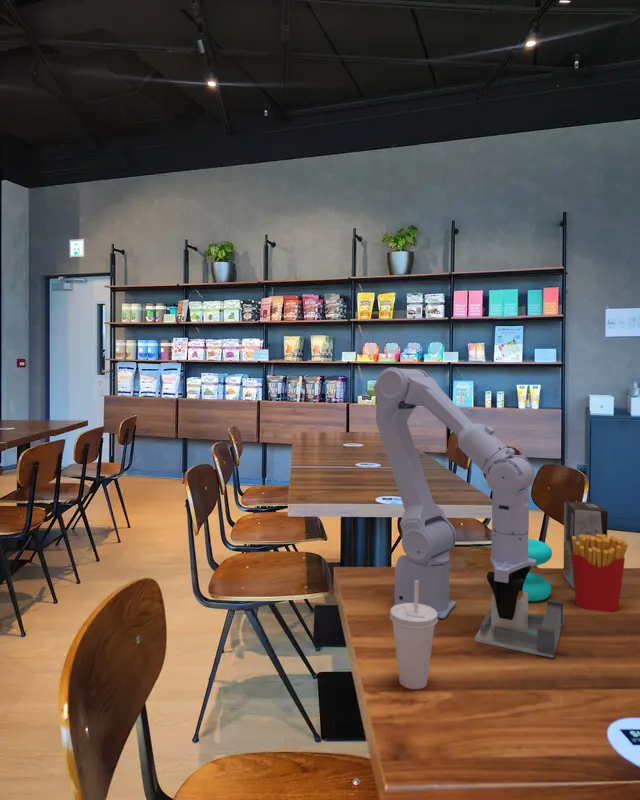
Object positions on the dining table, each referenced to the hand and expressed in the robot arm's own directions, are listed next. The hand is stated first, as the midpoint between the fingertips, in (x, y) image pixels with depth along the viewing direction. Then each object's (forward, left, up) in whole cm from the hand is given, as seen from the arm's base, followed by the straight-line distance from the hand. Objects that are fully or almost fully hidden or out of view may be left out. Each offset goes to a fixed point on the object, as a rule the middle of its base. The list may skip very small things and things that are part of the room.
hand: (508, 612), depth 93 cm
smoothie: (-9, -23, -3) cm, 25 cm away
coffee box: (+9, +31, -3) cm, 33 cm away
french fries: (+12, +19, -3) cm, 23 cm away
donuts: (-1, +19, -3) cm, 19 cm away
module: (0, 0, -2) cm, 2 cm away
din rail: (+2, 0, -3) cm, 4 cm away
